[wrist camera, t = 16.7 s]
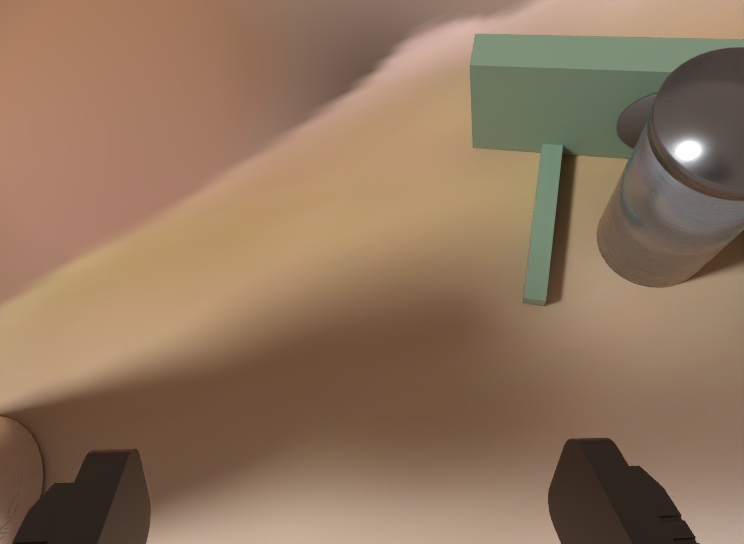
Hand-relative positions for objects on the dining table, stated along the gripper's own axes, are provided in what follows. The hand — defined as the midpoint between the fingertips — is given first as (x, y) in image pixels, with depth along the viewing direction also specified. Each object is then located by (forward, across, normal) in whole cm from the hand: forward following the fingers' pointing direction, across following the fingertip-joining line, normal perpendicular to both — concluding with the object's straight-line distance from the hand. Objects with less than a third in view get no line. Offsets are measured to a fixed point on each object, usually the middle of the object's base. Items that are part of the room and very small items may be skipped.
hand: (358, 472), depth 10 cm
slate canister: (+20, -19, +5) cm, 28 cm away
